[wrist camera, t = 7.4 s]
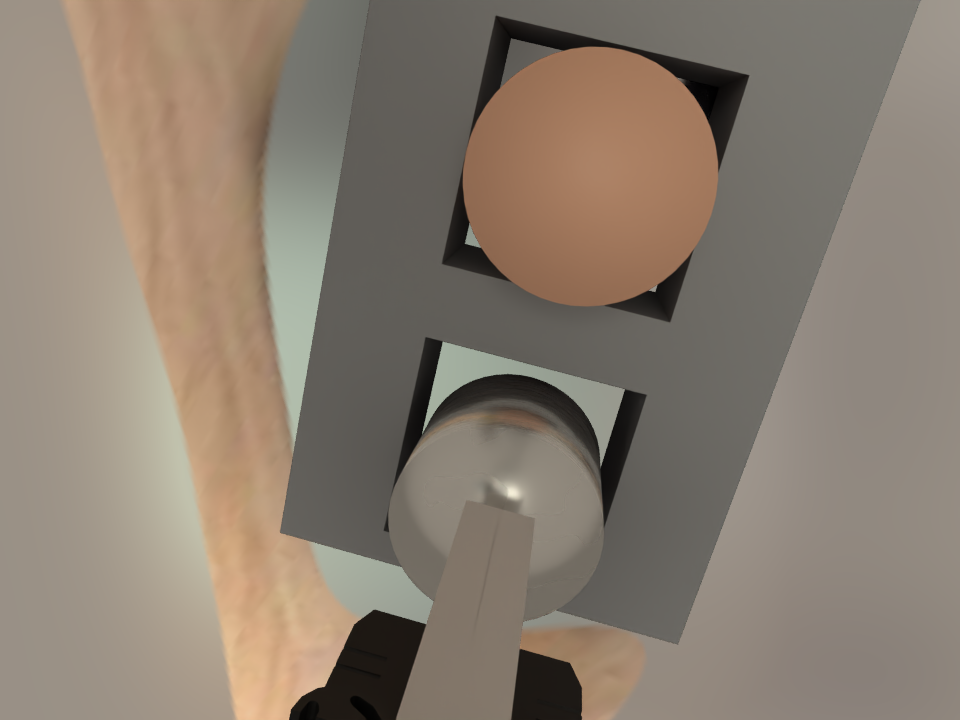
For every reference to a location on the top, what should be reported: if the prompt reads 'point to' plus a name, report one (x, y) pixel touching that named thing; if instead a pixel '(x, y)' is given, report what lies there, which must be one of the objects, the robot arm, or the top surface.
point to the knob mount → (585, 329)
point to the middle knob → (590, 176)
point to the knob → (504, 484)
